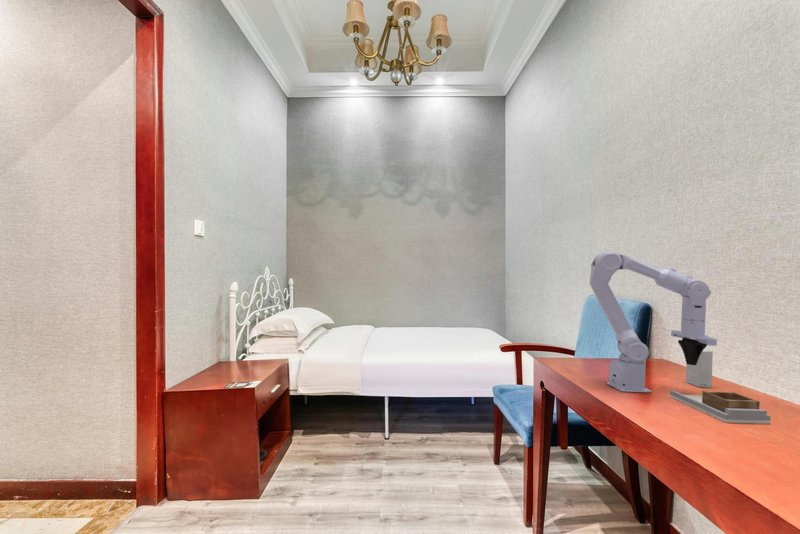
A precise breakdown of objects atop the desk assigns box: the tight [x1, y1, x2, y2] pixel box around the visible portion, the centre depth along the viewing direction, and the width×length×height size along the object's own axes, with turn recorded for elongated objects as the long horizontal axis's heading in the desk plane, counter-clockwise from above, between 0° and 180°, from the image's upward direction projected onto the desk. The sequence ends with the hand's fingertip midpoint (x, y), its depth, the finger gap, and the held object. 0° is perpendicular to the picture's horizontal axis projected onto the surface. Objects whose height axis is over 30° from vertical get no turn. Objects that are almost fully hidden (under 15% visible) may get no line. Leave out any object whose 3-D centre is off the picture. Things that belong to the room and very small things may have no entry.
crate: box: [701, 390, 760, 413], centre depth 97 cm, size 9×7×4 cm
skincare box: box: [685, 348, 714, 389], centre depth 123 cm, size 6×4×12 cm
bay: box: [669, 389, 771, 425], centre depth 101 cm, size 12×18×3 cm, turn 2°
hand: (691, 364), depth 112 cm, fingers closed
